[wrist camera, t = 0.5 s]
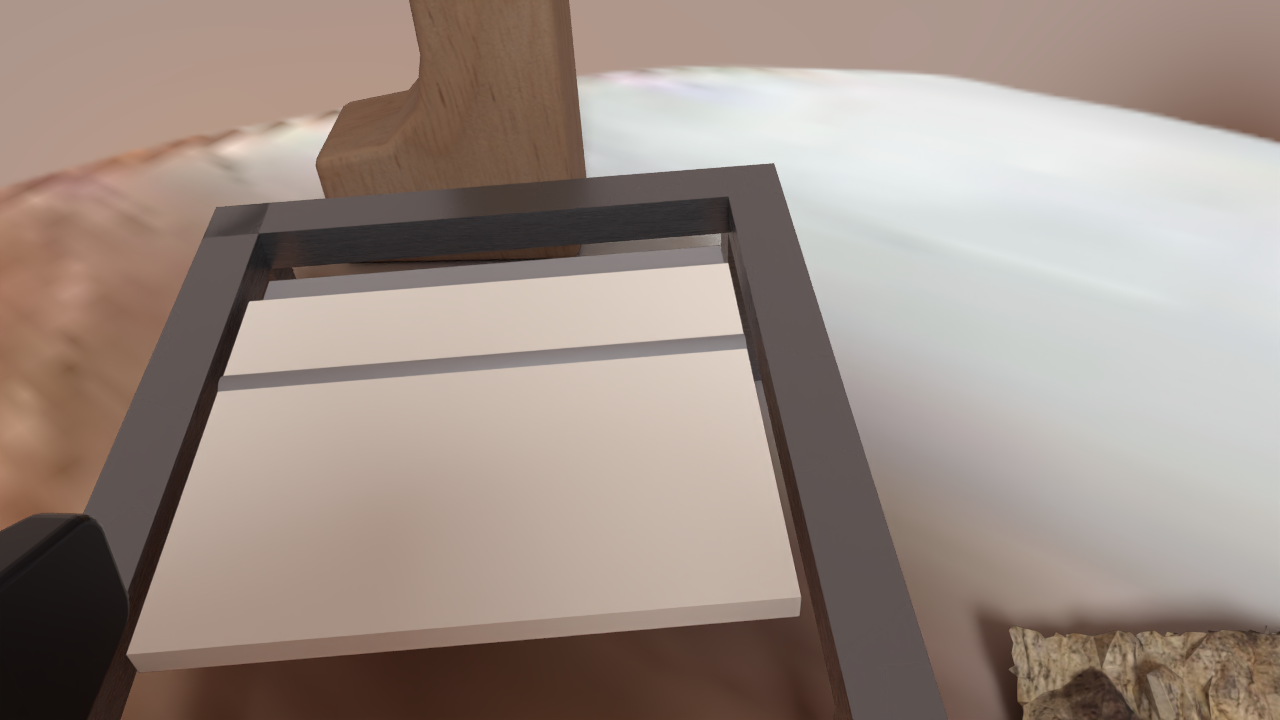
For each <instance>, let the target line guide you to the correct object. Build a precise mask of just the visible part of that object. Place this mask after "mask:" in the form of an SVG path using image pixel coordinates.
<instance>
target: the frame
mask: <svg viewBox="0 0 1280 720" xmlns="http://www.w3.org/2000/svg"><path fill="white" fill-rule="evenodd" d="M717 233H721V252H722V256H723V261H724V263H728V265H729V269H730V274H731V278H732V283H733V287H734V292H735V297H736V301H737V306H738V310H739V315H740V319H741V324H742V329H743V333H744V335H745V339H746V345H747V351H748V356H749V361H750V365H751V370H752V374H753V379H754V380H762V384H763V389H764V393H765V398H766V402H767V406H768V411H769V415H770V420H771V424H772V428H773V433H774V437H775V442H776V446H777V450H778V455H779V459H780V464H781V468H782V472H783V477H784V481H785V486H786V490H787V494H788V499H789V503H790V508H791V512H792V517H793V521H794V525H795V530H796V534H797V539H798V543H799V547H800V552H801V556H802V561H803V565H804V569H805V574H806V578H807V583H808V587H809V591H810V596H811V600H812V605H813V609H814V613H815V618H816V622H817V627H818V631H819V635H820V640H821V644H822V649H823V653H824V657H825V662H826V666H827V671H828V675H829V680H830V684H831V688H832V693H833V697H834V702H835V706H836V708H835V714H834V720H948V718H947V715H946V712H945V709H944V706H943V702H942V699H941V696H940V693H939V690H938V686H937V683H936V680H935V677H934V674H933V670H932V667H931V664H930V661H929V658H928V654H927V651H926V648H925V645H924V642H923V638H922V635H921V632H920V629H919V626H918V622H917V619H916V616H915V613H914V610H913V606H912V603H911V600H910V597H909V594H908V590H907V587H906V584H905V581H904V578H903V574H902V571H901V568H900V565H899V562H898V558H897V555H896V552H895V549H894V546H893V542H892V539H891V536H890V533H889V530H888V526H887V523H886V520H885V517H884V514H883V510H882V507H881V504H880V501H879V498H878V494H877V491H876V488H875V485H874V482H873V478H872V475H871V472H870V469H869V466H868V462H867V459H866V456H865V453H864V450H863V446H862V443H861V440H860V437H859V434H858V430H857V427H856V424H855V421H854V418H853V414H852V411H851V408H850V405H849V402H848V398H847V395H846V392H845V389H844V386H843V382H842V379H841V376H840V373H839V370H838V366H837V363H836V360H835V357H834V354H833V350H832V347H831V344H830V341H829V338H828V334H827V331H826V328H825V325H824V322H823V318H822V315H821V312H820V309H819V306H818V302H817V299H816V296H815V293H814V290H813V286H812V283H811V280H810V277H809V274H808V270H807V267H806V264H805V261H804V258H803V254H802V251H801V248H800V245H799V242H798V238H797V235H796V232H795V229H794V226H793V222H792V219H791V216H790V213H789V210H788V206H787V203H786V200H785V197H784V194H783V190H782V187H781V184H780V181H779V178H778V174H777V171H776V168H775V165H774V163H772V164H759V165H747V166H734V167H721V168H708V169H696V170H683V171H670V172H658V173H645V174H632V175H619V176H607V177H594V178H581V179H568V180H556V181H543V182H530V183H517V184H505V185H492V186H479V187H467V188H454V189H441V190H428V191H416V192H403V193H390V194H377V195H365V196H352V197H339V198H326V199H314V200H301V201H288V202H275V203H263V204H250V205H237V206H225V207H216V209H215V211H214V214H213V216H212V218H211V221H210V223H209V225H208V227H207V230H206V232H205V234H204V237H203V239H202V241H201V244H200V246H199V248H198V251H197V253H196V255H195V257H194V260H193V262H192V264H191V267H190V269H189V271H188V274H187V276H186V278H185V280H184V283H183V285H182V287H181V290H180V292H179V294H178V297H177V299H176V301H175V304H174V306H173V308H172V310H171V313H170V315H169V317H168V320H167V322H166V324H165V327H164V329H163V331H162V333H161V336H160V338H159V340H158V343H157V345H156V347H155V350H154V352H153V354H152V357H151V359H150V361H149V363H148V366H147V368H146V370H145V373H144V375H143V377H142V380H141V382H140V384H139V386H138V389H137V391H136V393H135V396H134V398H133V400H132V403H131V405H130V407H129V410H128V412H127V414H126V416H125V419H124V421H123V423H122V426H121V428H120V430H119V433H118V435H117V437H116V439H115V442H114V444H113V446H112V449H111V451H110V453H109V456H108V458H107V460H106V462H105V465H104V467H103V469H102V472H101V474H100V476H99V479H98V481H97V483H96V486H95V488H94V490H93V492H92V495H91V497H90V499H89V502H88V504H87V506H86V509H85V511H84V513H83V514H87V515H89V516H92V517H94V518H95V519H96V520H97V521H98V522H99V523H100V524H101V525H102V527H103V529H104V531H105V533H106V536H107V539H108V541H109V544H110V547H111V549H112V552H113V555H114V557H115V560H116V563H117V565H118V568H119V571H120V574H121V576H122V579H123V582H124V584H125V587H126V590H127V593H128V596H129V606H130V608H129V618H128V623H127V626H126V630H125V632H124V635H123V637H122V640H121V642H120V644H119V647H118V649H117V652H116V654H115V656H114V659H113V661H112V664H111V666H110V668H109V671H108V673H107V676H106V678H105V680H104V683H103V685H102V688H101V690H100V692H99V695H98V697H97V700H96V702H95V704H94V707H93V709H92V712H91V714H90V716H89V719H88V720H120V719H121V716H122V713H123V710H124V707H125V704H126V701H127V698H128V695H129V692H130V689H131V687H132V684H133V681H134V678H135V675H136V672H137V669H136V668H135V666H134V665H133V663H132V662H131V661H130V659H129V658H128V656H127V655H126V654H127V651H128V648H129V645H130V643H131V640H132V637H133V634H134V631H135V628H136V625H137V622H138V620H139V617H140V614H141V611H142V608H143V605H144V602H145V599H146V597H147V594H148V591H149V588H150V585H151V582H152V579H153V576H154V574H155V571H156V568H157V565H158V562H159V559H160V556H161V554H162V551H163V548H164V545H165V542H166V539H167V536H168V533H169V531H170V528H171V525H172V522H173V519H174V516H175V513H176V510H177V508H178V505H179V502H180V499H181V496H182V493H183V490H184V487H185V485H186V482H187V479H188V476H189V473H190V470H191V467H192V464H193V462H194V459H195V456H196V453H197V450H198V447H199V444H200V441H201V439H202V436H203V433H204V430H205V427H206V424H207V421H208V418H209V416H210V413H211V410H212V407H213V404H214V401H215V398H216V396H217V393H218V383H219V380H220V378H221V377H222V376H223V375H224V373H225V370H226V367H227V364H228V361H229V358H230V355H231V352H232V350H233V347H234V344H235V341H236V338H237V335H238V332H239V329H240V327H241V324H242V321H243V318H244V315H245V312H246V309H247V306H248V304H249V301H261V300H263V299H264V296H265V293H266V290H267V287H268V284H269V281H280V280H293V279H296V278H295V275H294V272H293V269H292V267H302V266H315V265H328V264H340V263H353V262H365V261H378V260H390V259H403V258H416V257H428V256H441V255H453V254H466V253H478V252H491V251H504V250H516V249H529V248H541V247H554V246H566V245H579V244H592V243H604V242H617V241H629V240H642V239H654V238H667V237H680V236H692V235H705V234H717Z"/></svg>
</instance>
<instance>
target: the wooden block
mask: <svg viewBox="0 0 1280 720" xmlns="http://www.w3.org/2000/svg"><path fill="white" fill-rule="evenodd" d="M409 2H410V7H411V11H412V16H413V21H414V26H415V31H416V36H417V41H418V45H419V51H420V67H419V78H418V79H417V81H416V82H415V83H414V84H413V85H412V87H411V88H410V89H409V90H407V91H403V92H397V93H392V94H388V95H383V96H378V97H373V98H368V99H363V100H358V101H353V102H350V103H348V104H347V105H345V106H344V107H343V108H342V110H341V112H340V114H339V116H338V118H337V120H336V122H335V124H334V126H333V128H332V130H331V132H330V134H329V135H328V137H327V139H326V141H325V143H324V145H323V147H322V149H321V151H320V153H319V155H318V157H317V160H316V169H317V172H318V175H319V178H320V182H321V185H322V188H323V191H324V195H325V198H339V197H352V196H365V195H377V194H390V193H403V192H416V191H428V190H441V189H454V188H467V187H479V186H492V185H505V184H517V183H530V182H543V181H556V180H568V179H581V178H586V170H585V160H584V150H583V140H582V130H581V120H580V110H579V100H578V89H577V79H576V69H575V59H574V48H573V38H572V27H571V18H570V7H569V0H409ZM580 246H581V244H579V245H566V246H554V247H541V248H529V249H516V250H504V251H491V252H478V253H466V254H453V255H441V256H428V257H416V258H403V259H390V260H378V261H430V260H484V259H537V258H569V257H574V256H576V255H577V254H578V252H579V249H580ZM365 262H376V261H365Z"/></svg>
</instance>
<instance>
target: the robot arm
mask: <svg viewBox="0 0 1280 720" xmlns="http://www.w3.org/2000/svg"><path fill="white" fill-rule="evenodd" d="M129 608H130V606H129V596H128V593H127V590H126V587H125V584H124V582H123V579H122V576H121V574H120V571H119V568H118V565H117V563H116V560H115V557H114V555H113V552H112V549H111V547H110V544H109V541H108V539H107V536H106V533H105V531H104V529H103V527H102V525H101V524H100V523H99V522H98V521H97V520H96V519H95V518H94V517H92V516H89V515H87V514H74V513H40V514H35V515H32V516H30V517H27V518H25V519H23V520H21V521H19V522H17V523H15V524H13V525H11V526H9V527H7V528H5V529H3V530H2V531H0V720H88V719H89V716H90V714H91V712H92V709H93V707H94V704H95V702H96V700H97V697H98V695H99V692H100V690H101V688H102V685H103V683H104V680H105V678H106V676H107V673H108V671H109V668H110V666H111V664H112V661H113V659H114V656H115V654H116V652H117V649H118V647H119V644H120V642H121V640H122V637H123V635H124V632H125V630H126V626H127V623H128V618H129Z"/></svg>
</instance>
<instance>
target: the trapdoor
mask: <svg viewBox="0 0 1280 720" xmlns="http://www.w3.org/2000/svg"><path fill="white" fill-rule="evenodd" d="M800 604H801V594H800V589H799V585H798V580H797V575H796V571H795V566H794V562H793V557H792V553H791V548H790V543H789V539H788V534H787V530H786V525H785V521H784V516H783V511H782V507H781V502H780V498H779V493H778V489H777V484H776V479H775V475H774V470H773V466H772V461H771V457H770V452H769V447H768V443H767V438H766V434H765V429H764V425H763V420H762V415H761V411H760V406H759V402H758V397H757V393H756V388H755V383H754V379H753V374H752V370H751V365H750V361H749V356H748V351H747V345H746V339H745V335H744V333H743V329H742V324H741V319H740V315H739V310H738V306H737V301H736V297H735V292H734V287H733V283H732V278H731V274H730V269H729V265H728V263H724V261H723V256H722V252H721V247H720V245H719V246H707V247H694V248H682V249H669V250H657V251H644V252H631V253H619V254H606V255H594V256H581V257H569V258H556V259H544V260H531V261H519V262H506V263H494V264H481V265H468V266H456V267H443V268H431V269H418V270H406V271H393V272H381V273H368V274H356V275H343V276H331V277H318V278H305V279H293V280H280V281H269V284H268V287H267V290H266V293H265V296H264V299H263V300H261V301H249V304H248V306H247V309H246V312H245V315H244V318H243V321H242V324H241V327H240V329H239V332H238V335H237V338H236V341H235V344H234V347H233V350H232V352H231V355H230V358H229V361H228V364H227V367H226V370H225V373H224V375H223V376H222V377H221V378H220V380H219V383H218V393H217V396H216V398H215V401H214V404H213V407H212V410H211V413H210V416H209V418H208V421H207V424H206V427H205V430H204V433H203V436H202V439H201V441H200V444H199V447H198V450H197V453H196V456H195V459H194V462H193V464H192V467H191V470H190V473H189V476H188V479H187V482H186V485H185V487H184V490H183V493H182V496H181V499H180V502H179V505H178V508H177V510H176V513H175V516H174V519H173V522H172V525H171V528H170V531H169V533H168V536H167V539H166V542H165V545H164V548H163V551H162V554H161V556H160V559H159V562H158V565H157V568H156V571H155V574H154V576H153V579H152V582H151V585H150V588H149V591H148V594H147V597H146V599H145V602H144V605H143V608H142V611H141V614H140V617H139V620H138V622H137V625H136V628H135V631H134V634H133V637H132V640H131V643H130V645H129V648H128V651H127V654H126V655H127V656H128V658H129V659H130V661H131V662H132V663H133V665H134V666H135V668H136V669H137V671H138V672H139V673H143V672H155V671H166V670H178V669H190V668H201V667H213V666H225V665H236V664H248V663H259V662H271V661H283V660H294V659H306V658H318V657H329V656H341V655H353V654H364V653H376V652H388V651H399V650H411V649H423V648H434V647H446V646H458V645H469V644H481V643H493V642H504V641H516V640H528V639H539V638H551V637H563V636H574V635H586V634H598V633H609V632H621V631H633V630H644V629H656V628H668V627H679V626H691V625H702V624H714V623H726V622H737V621H749V620H761V619H772V618H784V617H796V616H799V615H800Z"/></svg>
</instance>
